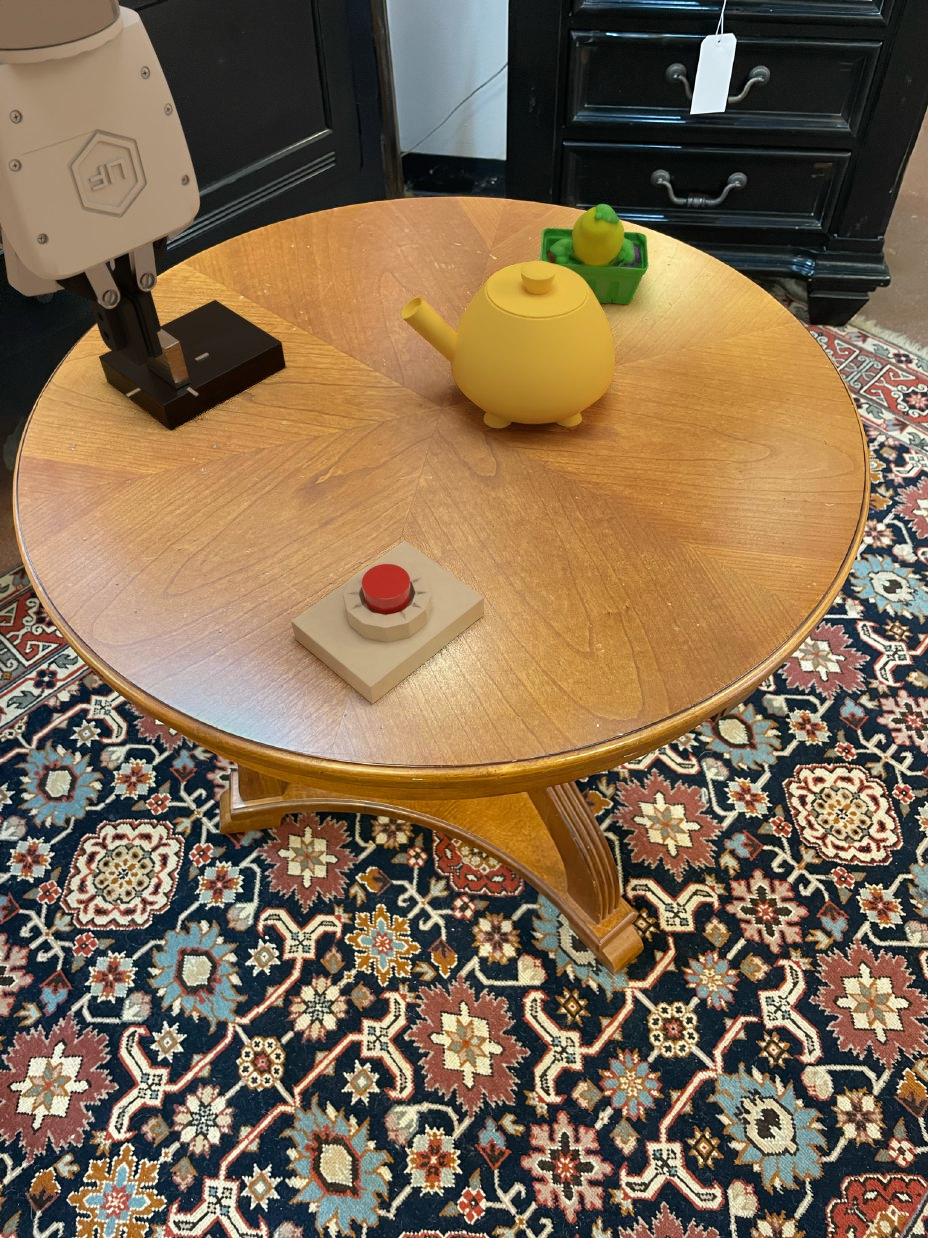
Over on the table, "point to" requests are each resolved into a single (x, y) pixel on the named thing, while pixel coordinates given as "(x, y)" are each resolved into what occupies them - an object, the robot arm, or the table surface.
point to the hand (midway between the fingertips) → (137, 350)
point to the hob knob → (170, 362)
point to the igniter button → (386, 589)
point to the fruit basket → (599, 254)
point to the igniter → (388, 624)
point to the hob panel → (200, 365)
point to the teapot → (526, 345)
